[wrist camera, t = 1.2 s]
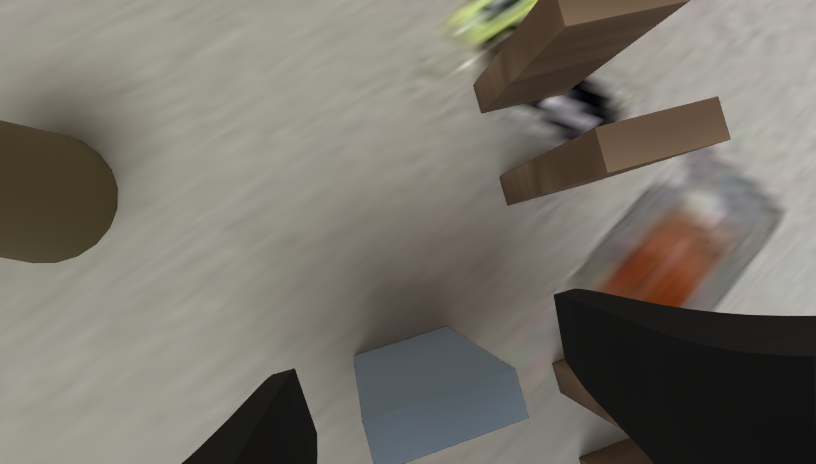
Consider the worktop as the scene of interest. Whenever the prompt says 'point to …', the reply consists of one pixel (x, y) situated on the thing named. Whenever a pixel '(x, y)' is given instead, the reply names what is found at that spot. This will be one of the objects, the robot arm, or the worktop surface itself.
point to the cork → (51, 195)
